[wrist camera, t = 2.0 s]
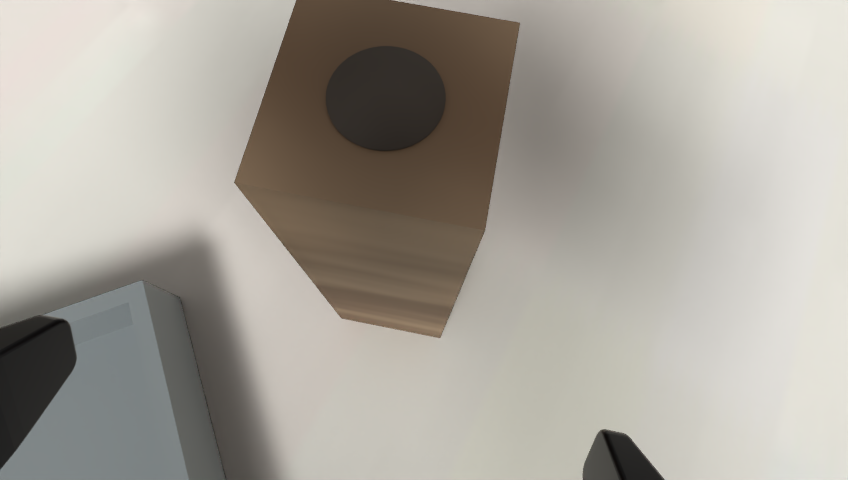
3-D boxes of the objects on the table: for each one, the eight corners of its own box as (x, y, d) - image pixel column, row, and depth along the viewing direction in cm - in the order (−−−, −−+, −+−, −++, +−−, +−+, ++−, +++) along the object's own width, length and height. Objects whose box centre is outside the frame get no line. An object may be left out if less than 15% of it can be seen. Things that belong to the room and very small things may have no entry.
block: (439, 337, 20) (485, 229, 8) (341, 318, 20) (233, 181, 8) (457, 243, 22) (520, 20, 9) (364, 225, 22) (301, -18, 9)
